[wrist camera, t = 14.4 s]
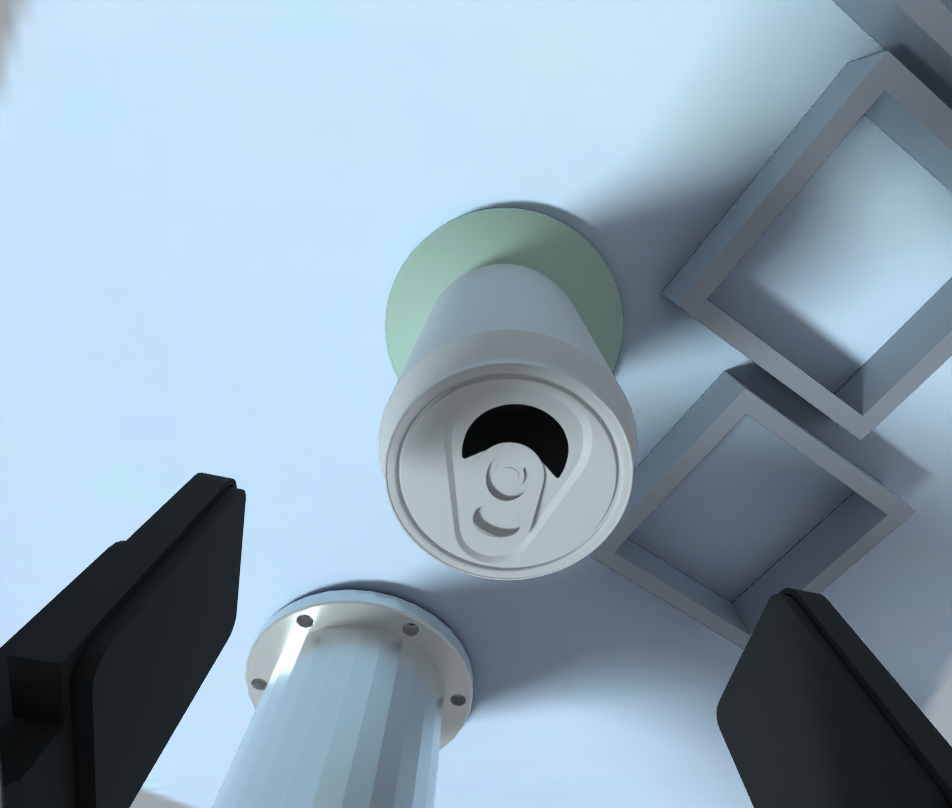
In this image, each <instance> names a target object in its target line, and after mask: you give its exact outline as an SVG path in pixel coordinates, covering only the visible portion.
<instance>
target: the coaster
mask: <svg viewBox="0 0 952 808" xmlns="http://www.w3.org/2000/svg"><path fill="white" fill-rule="evenodd" d="M492 264H514V265H521V266H525V267H528V268H531V269H534V270H536V271H538V272H540V273H542V274H544V275H546V276H547V277H549V278H550V279H551V280H553V281H554V282H555V283H556V284H557V285H558V286H559V287H560V288H561V289H562V290H563V291H564V292H565V293H566V294H567V295H568V297H569V298H570V300H571V302H572V304H573V305H574V307H575V309H576V310H577V312H578V314H579V316H580V317H581V319H582V321H583V323H584V324H585V326H586V328H587V330H588V331H589V333H590V335H591V337H592V338H593V340H594V342H595V344H596V345H597V347H598V349H599V351H600V352H601V354H602V356H603V358H604V359H605V361H606V363H607V365H608V366H609V368H610V370H611V372H612V373H613V370H614V368H615V365H616V363H617V360H618V357H619V353H620V349H621V345H622V338H623V329H624V324H623V309H622V303H621V297H620V294H619V290H618V287H617V284H616V281H615V279H614V277H613V275H612V273H611V271H610V269H609V267H608V265H607V264H606V262H605V261H604V259H603V258H602V256H601V255H600V254H599V253H598V251H597V250H596V249H595V248H594V247H593V246H592V245H591V243H590V242H589V241H587V240H586V239H585V238H584V237H583V236H581V235H580V234H579V233H578V232H577V231H575V230H574V229H572V228H571V227H569V226H567V225H566V224H564V223H563V222H561V221H559V220H557V219H554V218H552V217H550V216H548V215H545V214H542V213H538V212H535V211H532V210H525V209H519V208H492V209H485V210H480V211H476V212H472V213H469V214H465V215H463V216H461V217H458V218H456V219H454V220H451V221H450V222H448V223H446V224H445V225H443V226H441V227H440V228H438V229H436V230H435V231H434V232H433V233H431V234H430V235H429V236H428V237H427V238H425V239H424V240H423V241H422V242H421V243H420V244H419V245H418V246H417V247H416V248H415V249H414V251H413V252H412V253H411V254H410V255H409V257H408V258H407V260H406V261H405V262H404V264H403V265H402V267H401V269H400V271H399V273H398V275H397V277H396V278H395V281H394V283H393V286H392V289H391V292H390V294H389V299H388V304H387V308H386V319H385V332H386V343H387V348H388V353H389V357H390V360H391V363H392V366H393V369H394V371H395V373H396V375H397V377H398V379H399V377H400V375H401V373H402V371H403V369H404V367H405V365H406V363H407V360H408V358H409V356H410V354H411V352H412V350H413V348H414V346H415V343H416V341H417V339H418V337H419V335H420V333H421V331H422V329H423V327H424V324H425V322H426V320H427V318H428V316H429V314H430V312H431V310H432V308H433V306H434V304H435V302H436V300H437V299H438V297H439V296H440V295H441V293H442V292H443V291H444V290H445V289H446V288H447V287H448V286H449V285H450V284H451V283H452V282H453V281H455V280H456V279H457V278H459V277H460V276H462V275H464V274H465V273H467V272H470V271H472V270H474V269H477V268H480V267H483V266H487V265H492Z"/></svg>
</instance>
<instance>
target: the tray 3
mask: <svg viewBox="0 0 952 808" xmlns="http://www.w3.org/2000/svg"><path fill="white" fill-rule="evenodd" d="M833 1H834V2H835V3H836V4H837V5H838V6H839V7H840V8H841V9H842V10H843V11H844V12H845V13H846V14H848V15H849V16H850V17H851V18H852V19H853V20H854V21H855V22H856V23H857V24H858V25H859V26H860V27H862V28H863V29H864V30H865V31H866V32H867V33H868V34H869V35H870V36H871V37H872V38H873V39H874V40H875V41H877V42H878V43H879V44H880V45H881V46H882V47H883V48H884V49H885V50H888V51H889V52H890V53H891V54H892V55H893V56H894V57H895V58H896V59H898V60H899V61H900V62H901V63H902V64H903V65H904V66H905V67H906V68H907V69H908V70H909V71H910V72H911V73H913V74H914V75H915V76H916V77H917V78H918V79H919V80H920V81H921V82H922V83H923V84H924V85H925V86H926V87H928V88H929V89H930V90H931V91H932V92H933V93H934V94H935V95H936V96H937V97H938V98H939V99H940V100H941V101H943V102H944V103H945V104H946V105H947V106H948V107H949V108H950V109H951V110H952V11H951V10H950V9H949V8H948V7H947V6H946V5H945V4H944V3H943V2H942V1H941V0H833Z"/></svg>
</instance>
